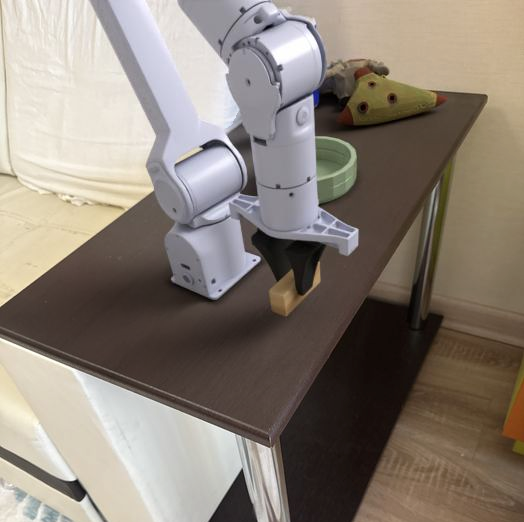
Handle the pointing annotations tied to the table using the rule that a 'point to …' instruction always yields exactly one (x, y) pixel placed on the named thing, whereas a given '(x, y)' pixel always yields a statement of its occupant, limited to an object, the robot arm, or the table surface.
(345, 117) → the ocarina
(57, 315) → the table surface
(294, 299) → the block
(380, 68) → the figurine
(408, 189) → the table surface
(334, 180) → the bowl
